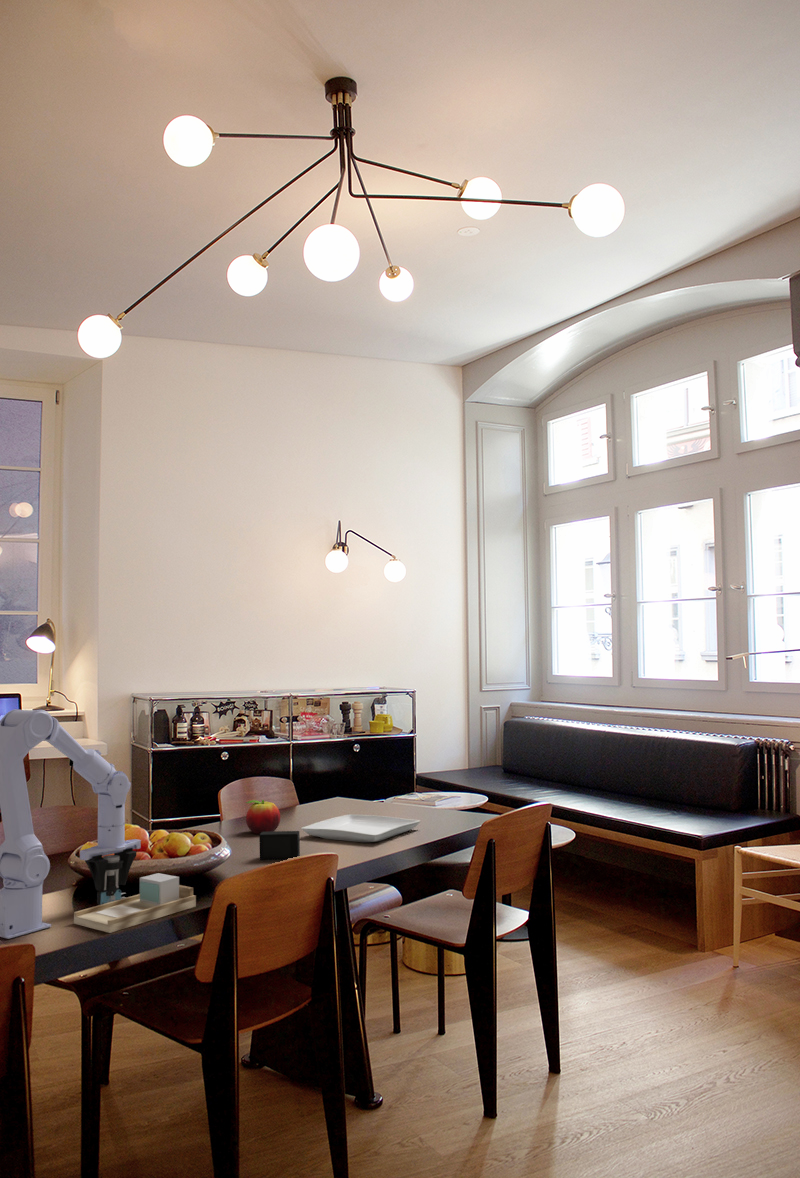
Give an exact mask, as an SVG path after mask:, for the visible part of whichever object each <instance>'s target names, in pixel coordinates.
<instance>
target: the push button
mask: <svg viewBox="0 0 800 1178" xmlns="http://www.w3.org/2000/svg"><path fill="white" fill-rule="evenodd" d="M102 857H103V858H104V859H106V860H108V863H107V867H106V872H105V887H104V890H103V891H98V890H97V892H96V904H97V905H102V904H105V903H109V902H113V901H116V900H120V899H124V898H127V897H125V896H122V895H124V894H127V893H126V892H122V889H120V885H119V884H118V872H119V869H120V868H122V863H123V860H121V859H119V856H118V855H114V854H109V855H104V856H102Z"/></svg>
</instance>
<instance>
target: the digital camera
mask: <svg viewBox="0 0 800 1178" xmlns="http://www.w3.org/2000/svg"><path fill="white" fill-rule="evenodd" d="M258 836H259V837H258V840H259V842H258V843H259V861H263V862H264V861H265V862H268V861H286V860H285V859H288V858H293V857H297V856H301V853H300V851H301V850H300V849H301V847H300V846H301V845H300V840H301V839H300V830H284V831H283V830H278V831H276V830H275V831H270V832H261V834H259V835H258Z"/></svg>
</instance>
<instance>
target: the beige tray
mask: <svg viewBox="0 0 800 1178" xmlns="http://www.w3.org/2000/svg"><path fill="white" fill-rule="evenodd" d="M196 906H197V895H194V887H191V886H188V885H187V886H186V885H182V884H179V899H178V900H175V901H172V902H168V903H165V904H162V905H154V904H150V903H145V902H140V893H138V894H134V895H132V896H131V895H130V896H128V897H126V898H122V899H120V900H116V901H113V902H109V903H105V904H102V905H100V904H97V905H96V906H92V907H88V908H85V909H80V910H77V911H74V912H73V924H74V925H78V926H83V927H85V928H90V929H94V930H97V931H100V932H105V933H109V934H111V933H114V932H115V933H116V932H118V931H122V930H124V929H127V928H130V927H134V926H137V925H140V924H144V923H147V922H149V921H153V920H156V919H159V918H162V917H167V916H168V915H172V914H176V913H180V912H182V911H185V910H188V909H189V910H190V909H193V908H196Z"/></svg>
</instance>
